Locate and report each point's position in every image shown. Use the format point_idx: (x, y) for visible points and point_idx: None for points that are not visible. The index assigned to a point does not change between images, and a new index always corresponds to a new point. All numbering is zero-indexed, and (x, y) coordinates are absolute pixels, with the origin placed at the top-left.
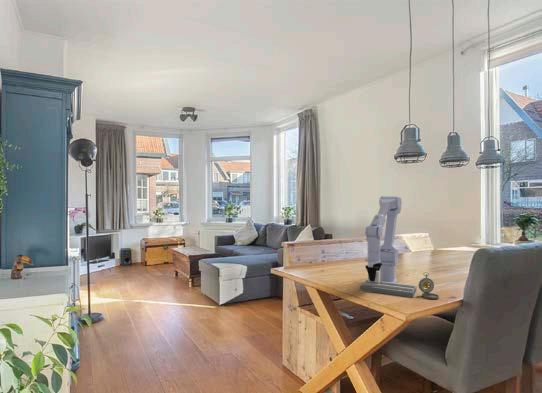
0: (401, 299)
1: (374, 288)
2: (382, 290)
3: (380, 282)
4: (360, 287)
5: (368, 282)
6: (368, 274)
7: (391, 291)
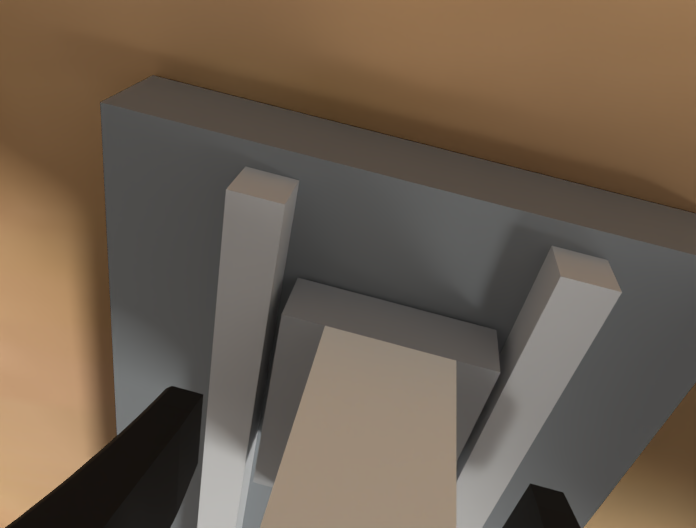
0: None
1: (120, 360)
2: None
3: None
4: (123, 103)
5: (281, 324)
6: (21, 516)
7: None
